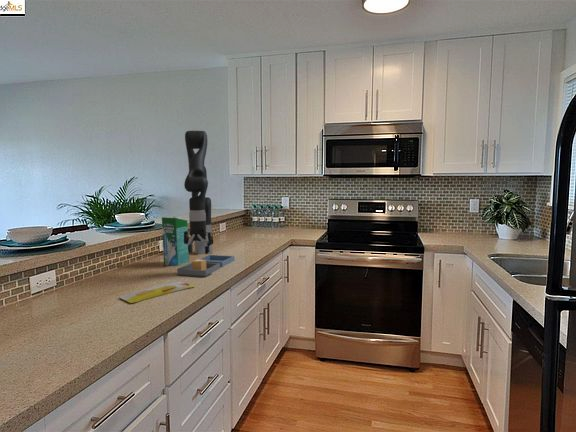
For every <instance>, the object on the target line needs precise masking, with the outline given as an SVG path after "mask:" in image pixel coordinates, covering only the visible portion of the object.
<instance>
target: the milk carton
mask: <svg viewBox="0 0 576 432" xmlns="http://www.w3.org/2000/svg"><path fill="white" fill-rule="evenodd" d="M188 224H189V222H188V220H186V219H183V218H182V217H180V216H173V217H161V225H162V226H161V229H162V230H161V231H162V248H163V249H162V251H163V253H162V254H163V266H168V267H171V266H175V267H177V266H181V265H184V264H185V265H186V264H189V263H190V253H189V252H188V245H187V244H184V232H185V231H189V229H188Z"/></svg>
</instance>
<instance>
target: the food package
mask: <svg viewBox="0 0 576 432" xmlns="http://www.w3.org/2000/svg"><path fill="white" fill-rule="evenodd" d="M194 287H195V285H193V284H191V283H187V282H184V281H178V282H170V283H166V284H162V285H157V286H153V287H150V288H149V287H148V288H145V289H141V290H137V291H134V292H131V293H128V294H125V295H122V296H119V297H118V299H121V300H123V301H125V302H128V303H129V304H132V303H138V302H139V303H140V302H143V301H145V300H146V301H147V300H149V299H154V298H157V296H158V297H161V296H164V295H168V293H169V294H172V293H176V292H179V291H183V290H184V291H185V290H188V289H192V288H194Z"/></svg>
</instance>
